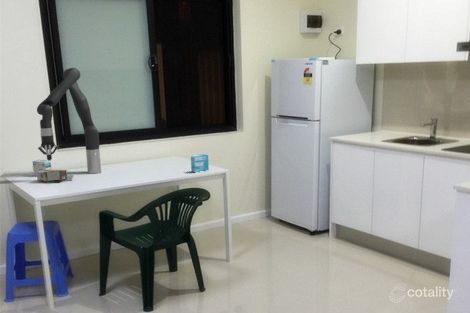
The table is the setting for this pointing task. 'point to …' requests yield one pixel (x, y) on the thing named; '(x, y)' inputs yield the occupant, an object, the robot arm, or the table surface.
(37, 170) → the light bulb box
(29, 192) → the table surface
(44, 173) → the coffee box
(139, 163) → the table surface
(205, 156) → the data package
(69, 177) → the mat
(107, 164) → the table surface
